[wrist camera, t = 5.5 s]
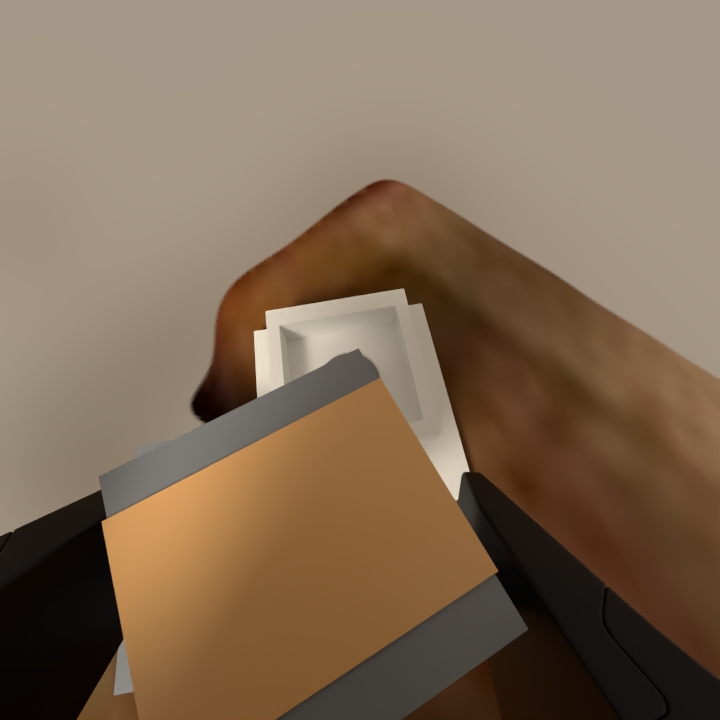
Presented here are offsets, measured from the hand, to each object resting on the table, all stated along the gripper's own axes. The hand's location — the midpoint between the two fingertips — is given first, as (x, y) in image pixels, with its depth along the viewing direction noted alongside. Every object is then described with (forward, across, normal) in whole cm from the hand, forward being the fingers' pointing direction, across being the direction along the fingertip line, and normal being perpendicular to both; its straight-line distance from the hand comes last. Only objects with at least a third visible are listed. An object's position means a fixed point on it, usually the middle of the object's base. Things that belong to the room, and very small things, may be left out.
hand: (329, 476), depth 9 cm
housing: (+14, +1, +5) cm, 14 cm away
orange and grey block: (+4, 0, +6) cm, 7 cm away
